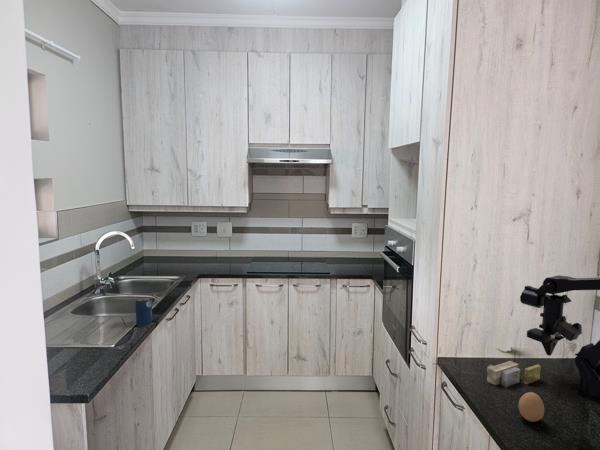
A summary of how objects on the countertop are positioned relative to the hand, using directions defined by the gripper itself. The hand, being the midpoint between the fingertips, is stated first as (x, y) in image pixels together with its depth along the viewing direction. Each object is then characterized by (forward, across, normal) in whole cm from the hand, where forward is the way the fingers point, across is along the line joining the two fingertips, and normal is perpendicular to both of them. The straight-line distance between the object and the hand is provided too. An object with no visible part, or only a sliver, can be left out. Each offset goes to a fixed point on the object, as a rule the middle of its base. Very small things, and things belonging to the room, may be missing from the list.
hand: (548, 355), depth 141 cm
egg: (+8, -30, -13) cm, 34 cm away
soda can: (+7, -119, +111) cm, 163 cm away
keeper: (+8, -8, 0) cm, 11 cm away
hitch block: (+8, -16, +6) cm, 19 cm away
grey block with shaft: (+8, -16, +7) cm, 19 cm away
